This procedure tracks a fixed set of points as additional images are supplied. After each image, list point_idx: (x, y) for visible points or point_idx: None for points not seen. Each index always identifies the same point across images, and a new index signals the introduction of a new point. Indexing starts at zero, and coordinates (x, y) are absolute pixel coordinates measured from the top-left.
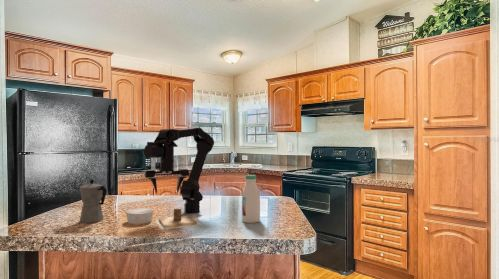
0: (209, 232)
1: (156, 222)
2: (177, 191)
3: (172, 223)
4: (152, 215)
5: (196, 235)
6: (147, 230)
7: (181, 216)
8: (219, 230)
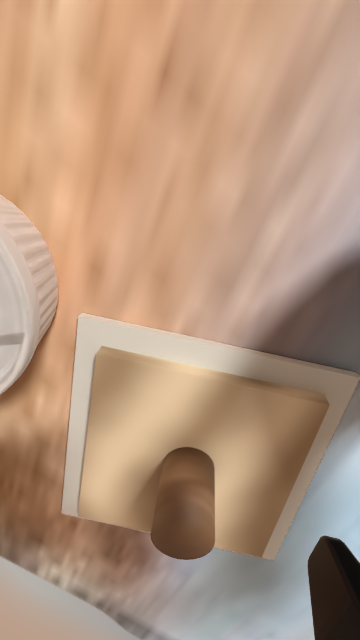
0: (242, 624)
1: (73, 379)
2: (311, 573)
3: (130, 508)
4: (42, 332)
5: (176, 620)
6: (4, 458)
7: (261, 404)
8: (296, 629)
